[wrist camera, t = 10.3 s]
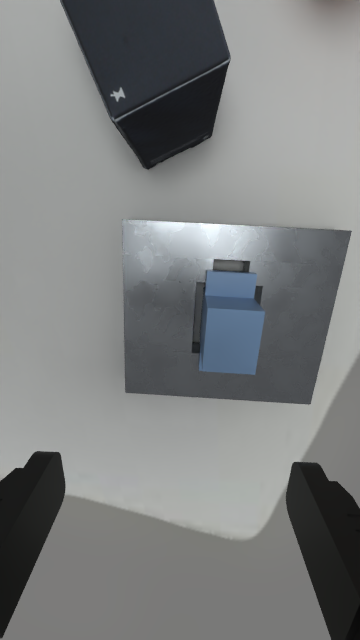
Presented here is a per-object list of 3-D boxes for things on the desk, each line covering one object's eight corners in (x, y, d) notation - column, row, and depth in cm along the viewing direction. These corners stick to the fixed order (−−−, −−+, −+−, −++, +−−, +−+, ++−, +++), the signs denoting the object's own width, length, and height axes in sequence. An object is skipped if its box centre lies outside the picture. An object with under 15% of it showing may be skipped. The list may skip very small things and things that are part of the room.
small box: (218, 135, 22) (240, 60, 12) (144, 172, 23) (109, 130, 13) (164, -28, 19) (134, -309, 9) (82, 23, 20) (-25, -178, 10)
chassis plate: (128, 220, 24) (122, 219, 22) (335, 230, 24) (351, 230, 21) (130, 379, 29) (125, 392, 27) (300, 389, 29) (310, 404, 27)
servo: (205, 265, 25) (210, 279, 18) (249, 268, 25) (269, 283, 18) (198, 354, 28) (200, 393, 21) (237, 356, 28) (251, 397, 21)
